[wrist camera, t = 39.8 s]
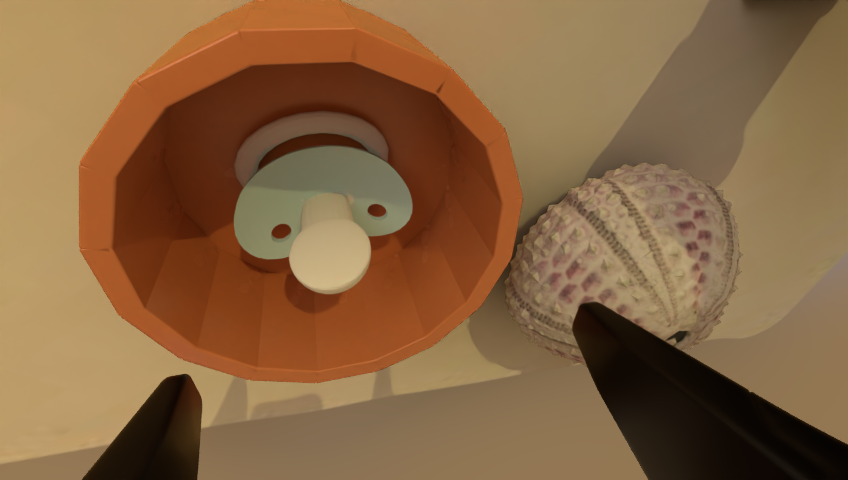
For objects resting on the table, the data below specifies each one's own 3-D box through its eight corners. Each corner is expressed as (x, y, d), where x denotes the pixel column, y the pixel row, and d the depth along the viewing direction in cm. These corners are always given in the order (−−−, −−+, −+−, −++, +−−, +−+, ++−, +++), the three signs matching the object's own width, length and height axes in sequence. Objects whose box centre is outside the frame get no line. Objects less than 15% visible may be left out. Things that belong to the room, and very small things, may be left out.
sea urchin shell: (724, 154, 25) (871, 228, 18) (623, 314, 32) (703, 406, 26) (533, 136, 20) (637, 223, 14) (468, 325, 28) (518, 436, 22)
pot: (475, -3, 16) (558, 23, 11) (452, 262, 24) (494, 348, 19) (80, -4, 13) (-54, 33, 8) (204, 298, 21) (176, 411, 16)
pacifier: (207, 123, 16) (258, 245, 19) (165, 198, 11) (244, 343, 14) (389, 92, 17) (406, 213, 21) (426, 148, 12) (440, 294, 16)
